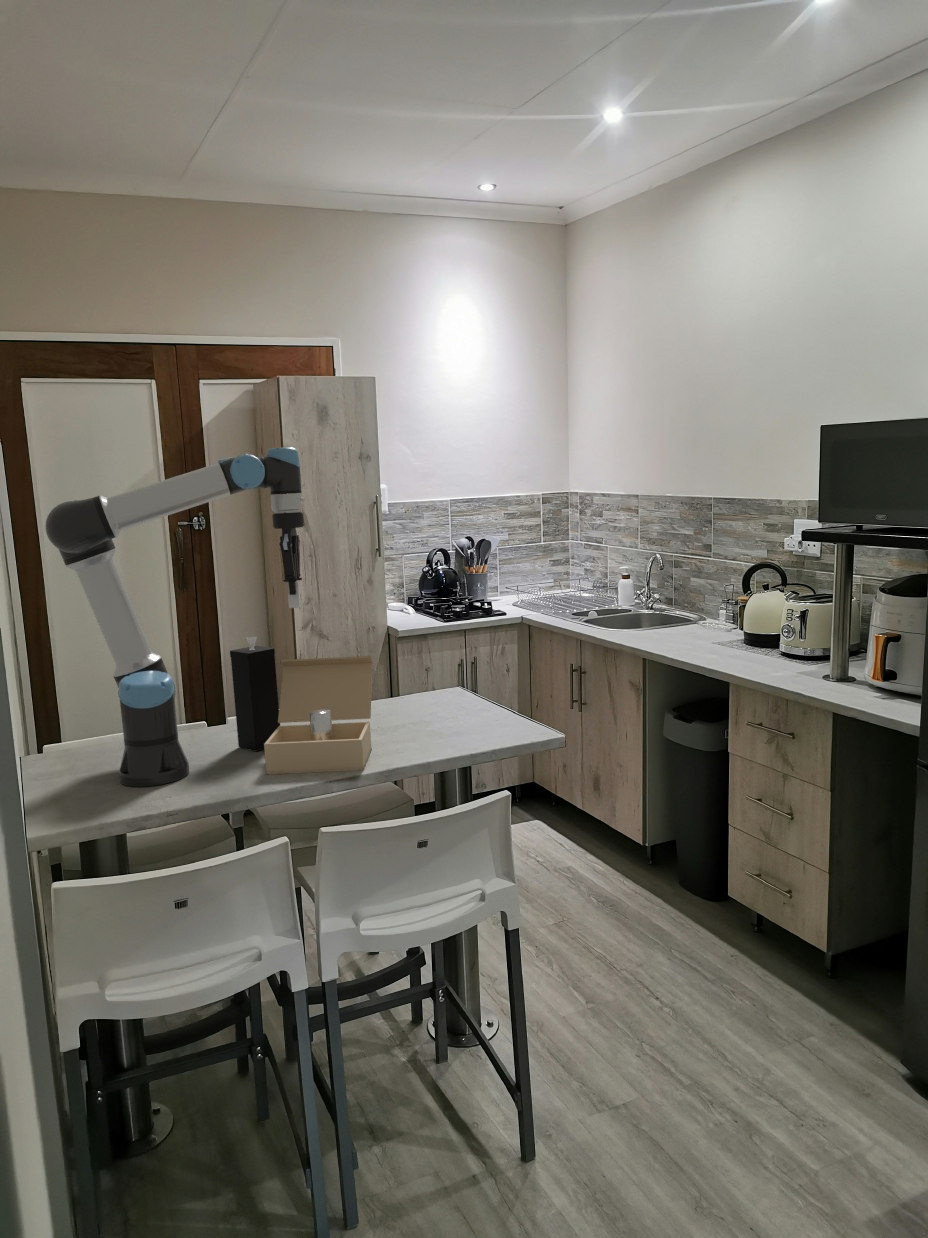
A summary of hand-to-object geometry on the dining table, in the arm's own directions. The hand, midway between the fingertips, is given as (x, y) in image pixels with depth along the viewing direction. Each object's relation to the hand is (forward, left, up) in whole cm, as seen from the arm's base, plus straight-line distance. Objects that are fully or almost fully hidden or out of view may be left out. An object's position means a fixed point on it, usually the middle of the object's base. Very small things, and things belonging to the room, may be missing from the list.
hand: (294, 607), depth 228 cm
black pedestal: (-11, -2, -35) cm, 36 cm away
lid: (+7, -6, -19) cm, 21 cm away
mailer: (+7, -18, -34) cm, 39 cm away
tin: (+7, -15, -34) cm, 38 cm away
